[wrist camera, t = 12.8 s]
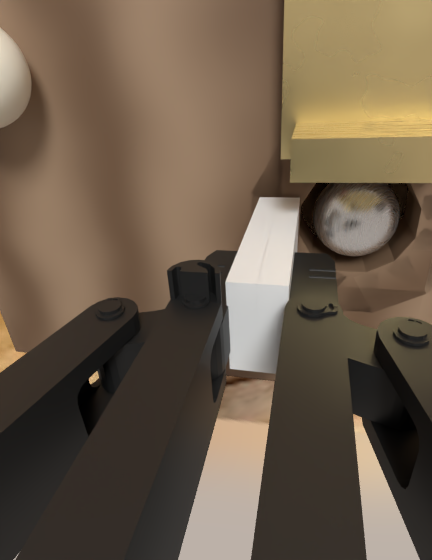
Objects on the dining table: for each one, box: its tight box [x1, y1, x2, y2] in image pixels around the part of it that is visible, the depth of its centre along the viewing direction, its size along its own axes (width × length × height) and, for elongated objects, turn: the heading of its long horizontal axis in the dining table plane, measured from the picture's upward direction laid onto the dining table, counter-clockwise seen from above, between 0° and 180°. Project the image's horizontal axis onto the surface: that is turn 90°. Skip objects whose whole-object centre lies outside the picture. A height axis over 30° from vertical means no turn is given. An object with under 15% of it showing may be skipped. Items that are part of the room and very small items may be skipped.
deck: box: [0, 0, 432, 381], centre depth 18 cm, size 26×18×2 cm
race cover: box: [281, 0, 432, 183], centre depth 11 cm, size 6×6×4 cm
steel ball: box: [313, 183, 400, 256], centre depth 16 cm, size 3×3×3 cm
